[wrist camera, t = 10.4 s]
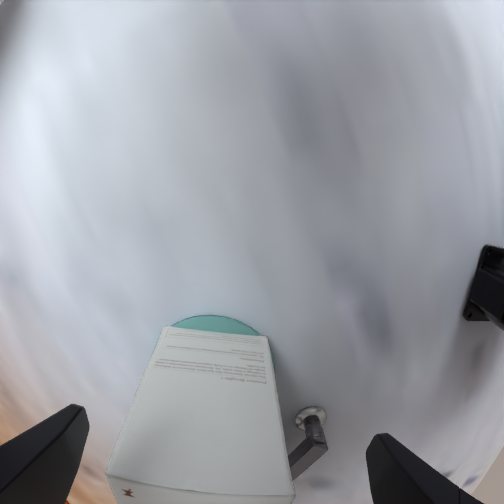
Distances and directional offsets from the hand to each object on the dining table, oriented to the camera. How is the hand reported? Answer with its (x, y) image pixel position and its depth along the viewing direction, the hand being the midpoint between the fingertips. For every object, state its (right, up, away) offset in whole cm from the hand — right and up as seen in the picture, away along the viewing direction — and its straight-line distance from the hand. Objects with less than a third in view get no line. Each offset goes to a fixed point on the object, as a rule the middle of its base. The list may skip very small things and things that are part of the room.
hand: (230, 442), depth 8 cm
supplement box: (-2, -3, +14) cm, 14 cm away
